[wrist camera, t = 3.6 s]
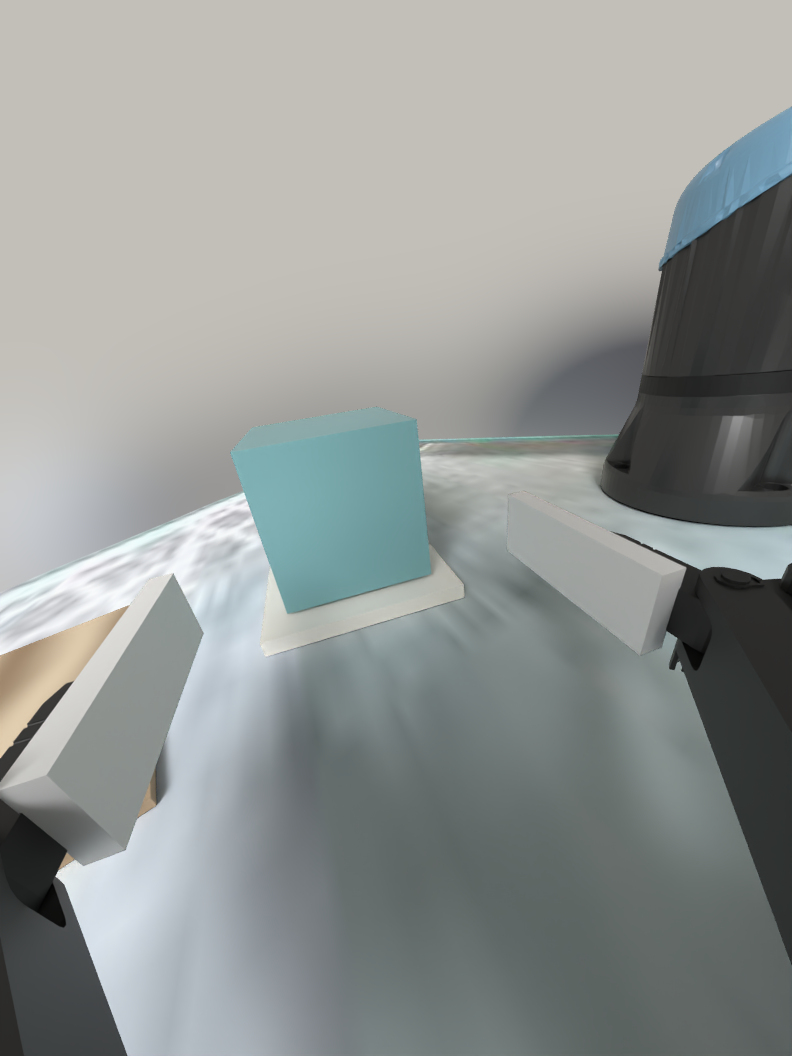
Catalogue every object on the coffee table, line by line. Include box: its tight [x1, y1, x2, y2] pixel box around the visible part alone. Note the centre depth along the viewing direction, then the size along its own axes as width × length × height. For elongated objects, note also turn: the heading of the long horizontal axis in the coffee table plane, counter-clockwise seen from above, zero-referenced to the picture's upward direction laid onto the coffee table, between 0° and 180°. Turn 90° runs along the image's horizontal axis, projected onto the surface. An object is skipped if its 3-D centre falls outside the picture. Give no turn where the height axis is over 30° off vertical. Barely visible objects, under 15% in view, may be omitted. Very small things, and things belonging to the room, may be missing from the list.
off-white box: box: [260, 542, 464, 657], centre depth 22 cm, size 12×12×10 cm
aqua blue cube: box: [230, 407, 431, 614], centre depth 22 cm, size 9×9×10 cm
